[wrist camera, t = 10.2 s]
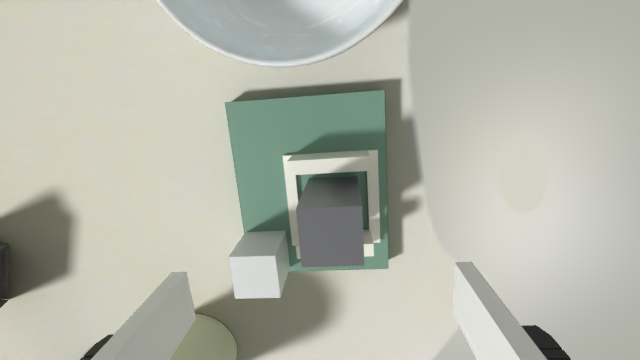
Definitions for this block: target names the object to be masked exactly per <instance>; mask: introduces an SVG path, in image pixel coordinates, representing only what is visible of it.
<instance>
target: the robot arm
mask: <svg viewBox="0 0 640 360" xmlns="http://www.w3.org/2000/svg"><path fill="white" fill-rule="evenodd" d="M453 314H454V316H455V318H456V320H457V322H458V324H459V326H460V328H461V330H462V332H463V333H464V335H465V337H466V339H467V341H468V343H469V345H470V347H471V349H472V351H473V353H474V355H475V357H476V359H477V360H570V357H569V356H568V355H567V354H566V353H565V351H564V350H562V349H561V347H560V346H559V344H557V342H556V341H555V340H554V339H553V338H552V337H551V335H549V334H548V333H546V332H545V331H543V330H542V329H540V328H539V327H537V326H536V325H534V326H521V325H520V324H519V323H518V321H517V320H516V319H515V317H514V316H513V315H512V314H511V312H510V311H509V310H508V308H507V307H506V306H505V304H504V303H503V302H502V301H501V299H500V298H499V297H498V295H497V294H496V293H495V291H494V290H493V289H492V288H491V286H490V285H489V284H488V282H487V281H486V280H485V279H484V277H483V276H482V275H481V273H480V272H479V271H478V270H477V268H476V267H475V266H474V264H473V263H472V262H455V269H454V293H453ZM195 319H196V315H195V311H194V306H193V301H192V297H191V292H190V287H189V282H188V278H187V273H186V272H173V273H171V274H170V275H169V276H168V277H167V278H166V279H165V280H164V281H163V282H162V283H161V285H160V286H159V287H158V288H157V289H156V290H155V291H154V292H153V293H152V294H151V295H150V296H149V297H148V299H147V300H146V301H145V302H144V303H143V304H142V305H141V306H140V307H139V308H138V309H137V310H136V311H135V313H134V314H133V315H132V316H131V317H130V318H129V319H128V320H127V321H126V322H125V323H124V324H123V325H122V327H121V328H120V329H119V330H118V331H117V332H116V333H115V334H114V335H108V336H106V337H105V338H103V339H102V340H101V341H99V342H98V343H96V344H95V345H94V346H93V347H92V348H91V349H90V350H89V351H88V352H87V353H86V354H85V355H84V358H81V359H80V360H170V359H171V357H172V356H173V354H174V353H175V351H176V349H177V348H178V346H179V345H180V343H181V341H182V340H183V338H184V337H185V335H186V334H187V332H188V330H189V329H190V327H191V326H192V324H193V322H194V321H195Z"/></svg>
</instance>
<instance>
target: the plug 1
mask: <svg viewBox="0 0 640 360" xmlns="http://www.w3.org/2000/svg"><path fill="white" fill-rule="evenodd" d="M228 259H229V265H230V271H231V277H232V283H233V289H234V295H235V299H245V298H280V297H281V294H282V291H283V288H284V285H285V281H286V278H287V275H288V272H289V269H290V263H289V254H288V245H287V236H286V231H261V232H246V233H245V234H244V236H243V237H242V239H241V240H240V241H239V243H238V244H237V246H236V247H235V248H234V250H233V251H232V253H231V254H230V255H229V257H228Z"/></svg>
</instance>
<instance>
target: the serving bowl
mask: <svg viewBox="0 0 640 360" xmlns="http://www.w3.org/2000/svg"><path fill="white" fill-rule="evenodd" d="M156 1H157V2H158V3H159V4H160V6H161V7H162V8H163V9H164V11H165V12H166V13H167V14H168V15H169V16H170V17H171V18H172V19H173V20H174V21H175V22H176V23H177V24H178V25H179V26H180V27H181V28H182V29H183V30H184V31H186V32H187V33H188V34H189V35H190V36H192V37H193V38H194V39H196V40H197V41H199V42H200V43H202V44H203V45H205V46H206V47H208V48H210V49H212V50H214V51H216V52H217V53H220V54H222V55H224V56H226V57H229V58H231V59H234V60H237V61H240V62H243V63H247V64H251V65H257V66H263V67H275V68H284V67H298V66H303V65H309V64H313V63H317V62H320V61H323V60H326V59H329V58H332V57H334V56H336V55H339V54H341V53H343V52H345V51H346V50H348V49H350V48H352V47H353V46H355V45H357V44H358V43H360V42H361V41H362V40H364V39H365V38H367V37H368V36H369V35H371V34H372V33H373V32H374V31H375V30H377V29H378V28H379V27H380V26H381V25H382V24H383V23H384V22H385V21H386V20H387V19H388V18H389V17H390V16H391V15H392V14H393V13H394V12H395V10H396V9H397V8H398V7H399V6H400V4H401V3H402V2H403V1H404V0H156Z"/></svg>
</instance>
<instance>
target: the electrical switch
mask: <svg viewBox="0 0 640 360" xmlns="http://www.w3.org/2000/svg"><path fill="white" fill-rule="evenodd" d="M3 254H4V255H3ZM2 262H3V263H2ZM3 299H8V244H1V243H0V308H1V307H2V306H3V305H4V304H5V303H6V302H7V301H8V300H3Z"/></svg>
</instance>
